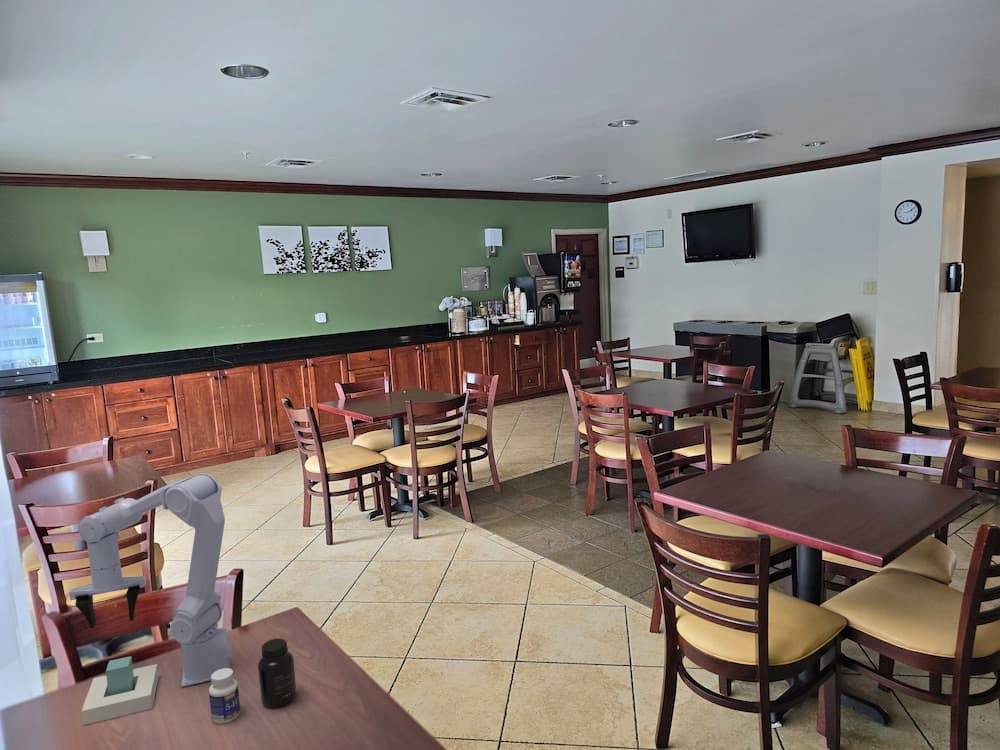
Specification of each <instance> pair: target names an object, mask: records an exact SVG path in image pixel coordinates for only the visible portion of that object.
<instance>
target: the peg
mask: <svg viewBox="0 0 1000 750" xmlns="http://www.w3.org/2000/svg"><path fill="white" fill-rule="evenodd" d="M133 669H134V667H133V659H132V656H125V657H122V658H117V659H112V660H109V661H108V663H107V667H106V670H105V675H106V677H107V685H108V692H109V696H112V695H116V694H121V693H125V692H129V691H133V690H135V682H134V674H133Z"/></svg>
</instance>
